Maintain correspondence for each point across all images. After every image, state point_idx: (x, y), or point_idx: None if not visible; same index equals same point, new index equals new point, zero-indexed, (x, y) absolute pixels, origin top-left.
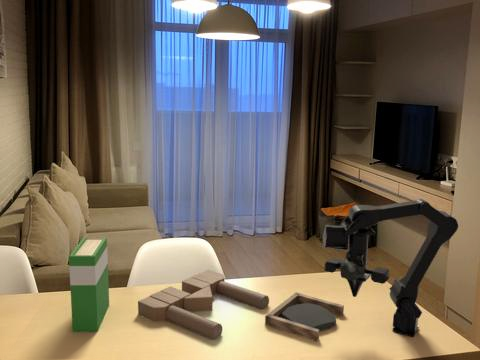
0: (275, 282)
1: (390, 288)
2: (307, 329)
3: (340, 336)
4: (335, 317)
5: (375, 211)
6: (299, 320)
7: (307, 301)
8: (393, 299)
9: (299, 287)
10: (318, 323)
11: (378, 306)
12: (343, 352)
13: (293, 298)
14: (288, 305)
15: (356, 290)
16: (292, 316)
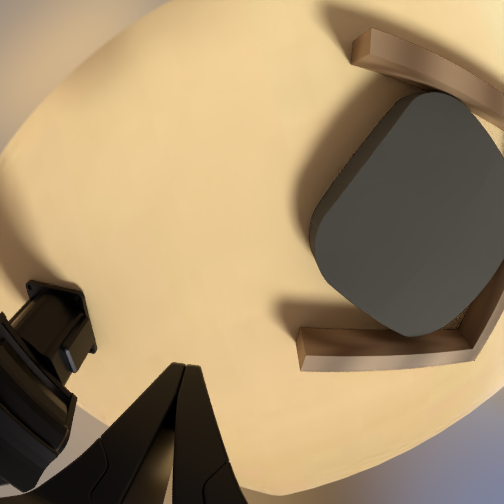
0: (485, 387)
1: (48, 453)
2: (422, 49)
3: (258, 133)
4: (322, 269)
5: None
6: (471, 150)
7: (439, 341)
8: (17, 389)
9: (437, 403)
10: (393, 150)
11: None
12: (203, 4)
13: (490, 318)
14: (500, 274)
15: (135, 418)
16: (495, 177)
